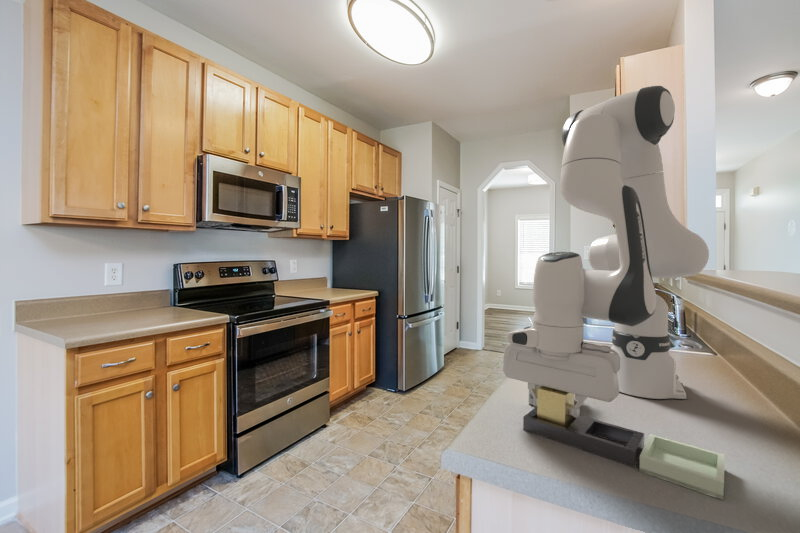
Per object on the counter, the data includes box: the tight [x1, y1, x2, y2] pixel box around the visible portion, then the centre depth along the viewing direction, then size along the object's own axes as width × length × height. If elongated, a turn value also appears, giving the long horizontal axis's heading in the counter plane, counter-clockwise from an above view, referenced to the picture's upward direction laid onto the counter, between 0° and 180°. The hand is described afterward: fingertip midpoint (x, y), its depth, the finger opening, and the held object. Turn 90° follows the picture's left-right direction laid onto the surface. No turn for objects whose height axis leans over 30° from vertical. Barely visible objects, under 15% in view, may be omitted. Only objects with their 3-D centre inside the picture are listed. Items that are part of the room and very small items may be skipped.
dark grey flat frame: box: [522, 407, 645, 468], centre depth 66 cm, size 8×18×2 cm, turn 48°
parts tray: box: [638, 433, 726, 501], centre depth 56 cm, size 10×10×2 cm
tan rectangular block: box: [537, 386, 575, 428], centre depth 68 cm, size 5×5×8 cm
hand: (555, 411), depth 68 cm, fingers closed on tan rectangular block, 5 cm apart
